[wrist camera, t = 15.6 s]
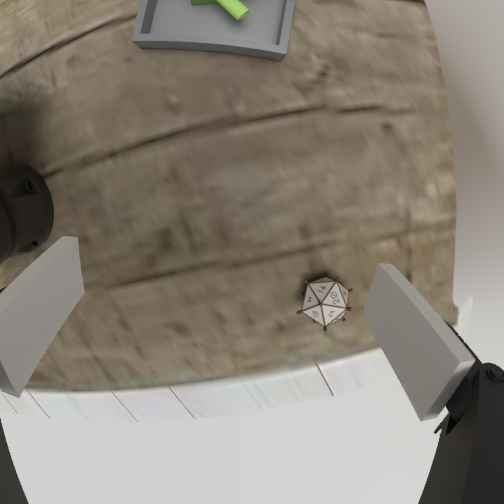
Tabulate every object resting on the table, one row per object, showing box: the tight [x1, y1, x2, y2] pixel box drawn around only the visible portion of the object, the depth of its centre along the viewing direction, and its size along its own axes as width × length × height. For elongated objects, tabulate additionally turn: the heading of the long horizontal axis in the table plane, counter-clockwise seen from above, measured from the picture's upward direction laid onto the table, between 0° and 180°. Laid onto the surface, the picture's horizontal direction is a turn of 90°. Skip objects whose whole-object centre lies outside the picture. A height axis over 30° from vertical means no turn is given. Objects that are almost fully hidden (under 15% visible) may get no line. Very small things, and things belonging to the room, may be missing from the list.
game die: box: [296, 272, 353, 332], centre depth 47 cm, size 9×8×10 cm
